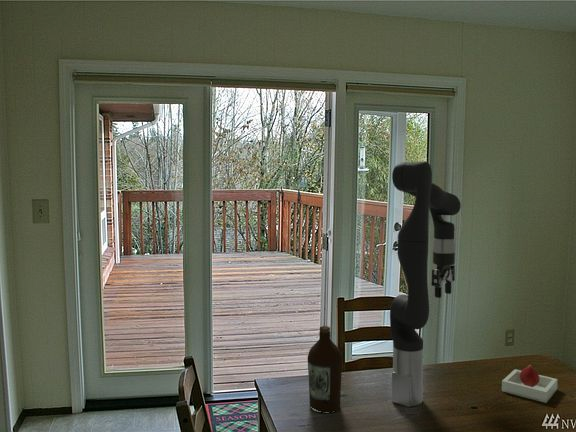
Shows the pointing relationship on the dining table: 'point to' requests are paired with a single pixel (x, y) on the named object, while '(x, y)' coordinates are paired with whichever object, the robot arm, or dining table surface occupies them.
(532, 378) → the onion
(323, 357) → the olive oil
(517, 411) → the dining table surface
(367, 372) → the dining table surface
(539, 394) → the bin
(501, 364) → the dining table surface
